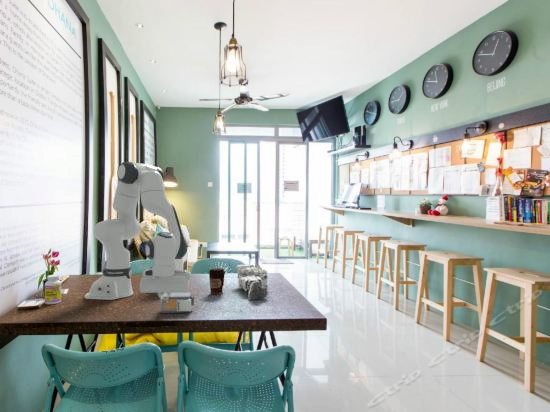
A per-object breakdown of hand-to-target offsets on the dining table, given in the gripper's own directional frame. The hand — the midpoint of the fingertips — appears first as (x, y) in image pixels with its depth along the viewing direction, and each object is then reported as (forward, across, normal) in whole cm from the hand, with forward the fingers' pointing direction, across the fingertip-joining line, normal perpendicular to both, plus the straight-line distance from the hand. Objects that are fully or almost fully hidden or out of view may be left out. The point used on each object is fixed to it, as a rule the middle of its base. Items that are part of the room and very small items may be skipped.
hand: (164, 302), depth 155 cm
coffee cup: (+5, -20, -33) cm, 39 cm away
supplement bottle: (+6, +56, -20) cm, 60 cm away
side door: (+4, -8, 0) cm, 9 cm away
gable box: (+6, +6, -53) cm, 54 cm away
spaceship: (+5, -40, -35) cm, 53 cm away
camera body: (+5, -4, -5) cm, 8 cm away
